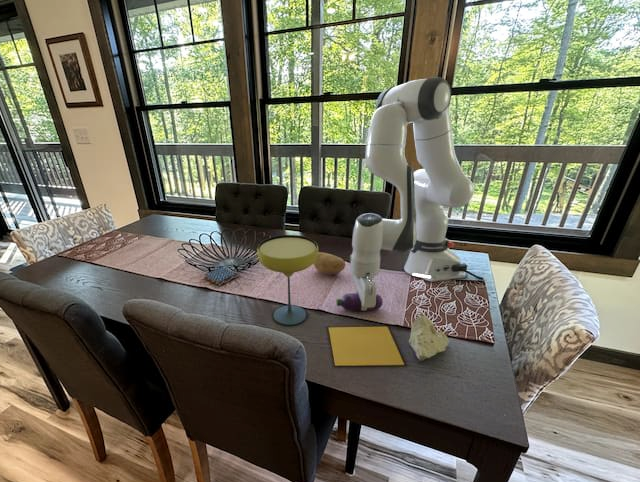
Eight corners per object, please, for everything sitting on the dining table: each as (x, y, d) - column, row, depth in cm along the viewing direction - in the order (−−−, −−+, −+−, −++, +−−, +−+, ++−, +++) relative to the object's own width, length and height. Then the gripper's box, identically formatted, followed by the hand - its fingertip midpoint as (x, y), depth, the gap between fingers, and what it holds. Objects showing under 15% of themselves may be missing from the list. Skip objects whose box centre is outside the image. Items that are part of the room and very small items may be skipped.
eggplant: (379, 303, 107) (381, 289, 104) (383, 313, 102) (385, 298, 99) (335, 304, 108) (336, 290, 105) (337, 314, 103) (338, 299, 100)
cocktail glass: (315, 334, 94) (316, 260, 82) (256, 330, 97) (249, 257, 85) (318, 301, 109) (320, 235, 98) (268, 298, 113) (264, 233, 101)
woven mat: (219, 286, 122) (218, 282, 121) (203, 278, 128) (202, 274, 127) (239, 276, 128) (239, 272, 127) (223, 269, 135) (223, 265, 134)
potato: (338, 282, 121) (339, 264, 117) (307, 273, 129) (307, 255, 125) (349, 272, 128) (350, 254, 124) (319, 264, 135) (320, 247, 132)
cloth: (387, 326, 96) (387, 326, 96) (404, 365, 81) (404, 364, 81) (328, 327, 96) (328, 327, 96) (335, 366, 82) (335, 365, 82)
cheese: (422, 335, 94) (390, 314, 89) (445, 325, 90) (412, 303, 84) (435, 384, 84) (399, 364, 78) (461, 375, 79) (425, 354, 74)
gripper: (383, 282, 88) (378, 322, 94) (367, 252, 106) (364, 287, 113) (361, 283, 88) (357, 322, 95) (349, 253, 106) (346, 287, 113)
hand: (361, 303), depth 104 cm, fingers closed on eggplant, 5 cm apart
